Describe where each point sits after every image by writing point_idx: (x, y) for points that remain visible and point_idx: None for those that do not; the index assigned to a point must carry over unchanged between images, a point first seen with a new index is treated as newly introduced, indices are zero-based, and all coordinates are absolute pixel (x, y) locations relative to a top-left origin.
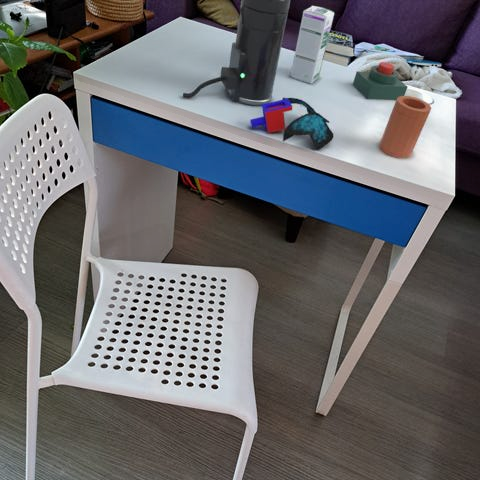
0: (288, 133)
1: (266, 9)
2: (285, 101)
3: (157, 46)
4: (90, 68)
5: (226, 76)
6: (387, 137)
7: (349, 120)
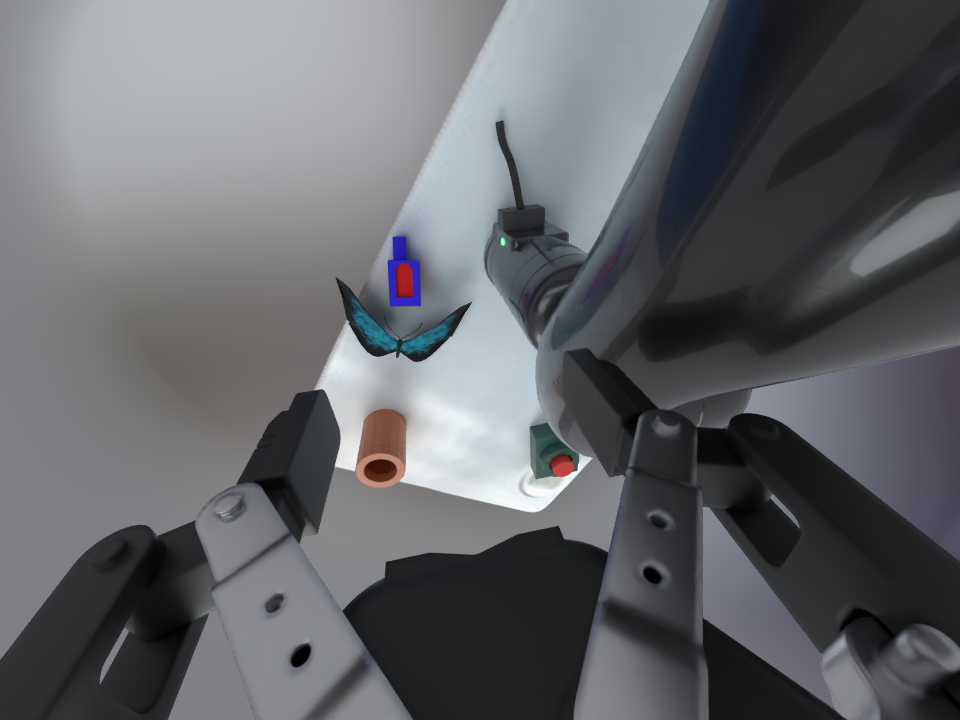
0: (343, 288)
1: (521, 301)
2: (411, 299)
3: None
4: None
5: (509, 211)
6: (375, 422)
7: (459, 390)
